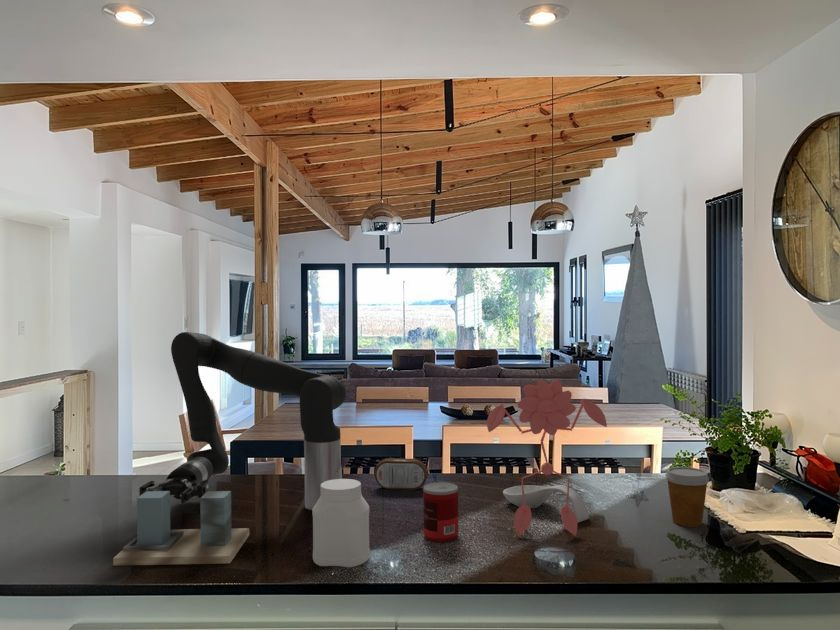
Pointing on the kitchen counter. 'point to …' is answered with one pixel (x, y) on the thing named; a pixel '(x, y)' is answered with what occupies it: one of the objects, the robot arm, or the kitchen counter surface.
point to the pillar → (153, 518)
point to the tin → (401, 473)
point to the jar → (341, 525)
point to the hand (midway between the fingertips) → (163, 498)
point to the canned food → (440, 511)
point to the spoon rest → (545, 497)
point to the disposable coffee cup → (687, 494)
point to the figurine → (548, 413)
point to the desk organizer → (193, 539)
